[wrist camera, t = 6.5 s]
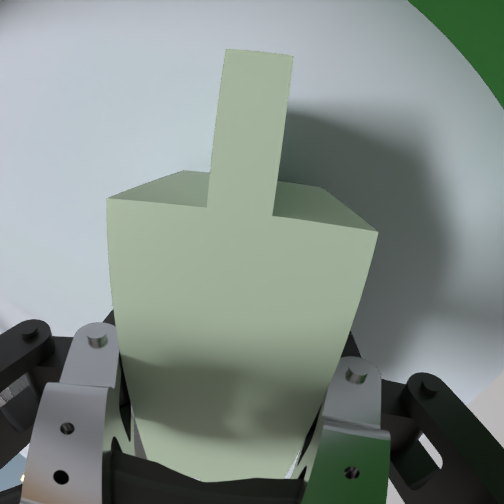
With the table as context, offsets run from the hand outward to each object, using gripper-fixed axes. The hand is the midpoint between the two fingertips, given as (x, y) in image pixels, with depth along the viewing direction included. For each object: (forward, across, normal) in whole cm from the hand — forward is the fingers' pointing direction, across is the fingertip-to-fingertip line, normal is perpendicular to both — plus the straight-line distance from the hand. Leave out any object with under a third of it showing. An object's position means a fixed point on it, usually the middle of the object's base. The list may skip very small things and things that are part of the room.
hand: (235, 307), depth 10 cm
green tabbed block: (0, 0, 0) cm, 0 cm away
